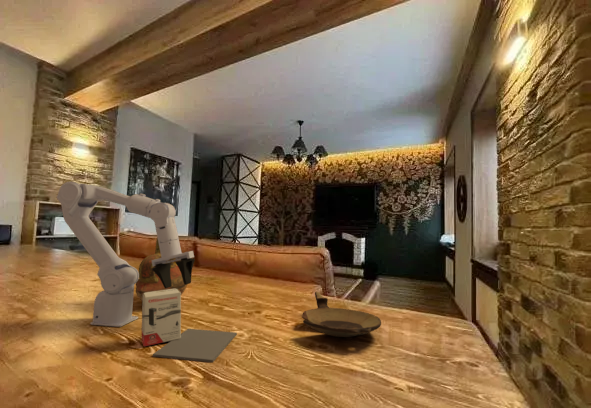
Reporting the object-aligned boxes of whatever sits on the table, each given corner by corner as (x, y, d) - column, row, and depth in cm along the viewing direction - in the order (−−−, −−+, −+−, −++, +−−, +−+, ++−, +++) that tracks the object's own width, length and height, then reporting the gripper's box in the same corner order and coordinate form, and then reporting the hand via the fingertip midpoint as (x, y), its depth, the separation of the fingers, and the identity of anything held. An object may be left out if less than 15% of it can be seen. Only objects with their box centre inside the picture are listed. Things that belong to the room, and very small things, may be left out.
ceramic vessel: (201, 295, 117) (205, 234, 119) (164, 315, 91) (169, 236, 93) (163, 292, 119) (167, 233, 121) (116, 310, 94) (122, 234, 96)
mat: (152, 356, 63) (152, 354, 63) (188, 330, 79) (188, 328, 79) (212, 362, 61) (213, 359, 62) (236, 334, 77) (236, 332, 77)
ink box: (143, 347, 67) (144, 296, 68) (141, 340, 71) (141, 292, 72) (181, 338, 72) (181, 290, 73) (177, 333, 76) (177, 287, 77)
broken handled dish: (299, 349, 70) (300, 317, 70) (302, 312, 99) (303, 290, 100) (392, 355, 68) (392, 322, 69) (367, 315, 98) (367, 293, 99)
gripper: (196, 234, 87) (205, 278, 87) (161, 243, 92) (169, 285, 91) (180, 238, 81) (190, 285, 80) (142, 247, 86) (151, 291, 85)
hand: (177, 285), depth 85 cm, fingers open, 7 cm apart
